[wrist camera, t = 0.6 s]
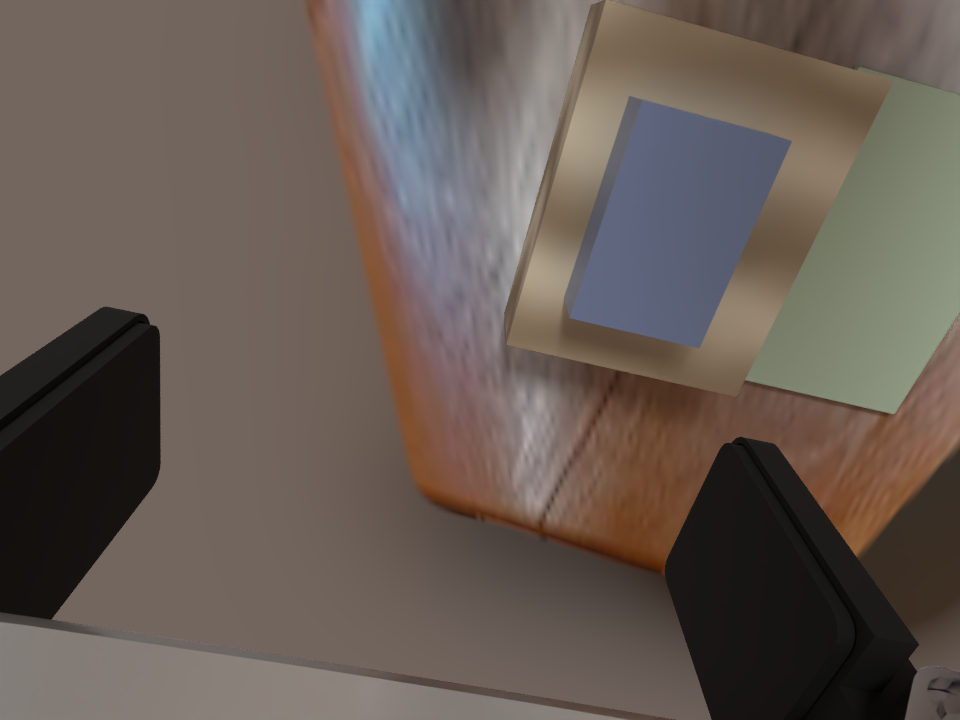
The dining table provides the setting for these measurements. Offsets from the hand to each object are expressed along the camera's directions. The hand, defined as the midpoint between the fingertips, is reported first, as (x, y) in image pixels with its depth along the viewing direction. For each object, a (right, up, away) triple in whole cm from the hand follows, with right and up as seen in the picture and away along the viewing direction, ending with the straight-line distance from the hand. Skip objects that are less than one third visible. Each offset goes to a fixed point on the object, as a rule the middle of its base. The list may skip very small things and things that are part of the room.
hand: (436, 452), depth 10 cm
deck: (+10, +9, +21) cm, 25 cm away
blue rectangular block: (+9, +7, +16) cm, 20 cm away
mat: (+21, +7, +22) cm, 31 cm away
